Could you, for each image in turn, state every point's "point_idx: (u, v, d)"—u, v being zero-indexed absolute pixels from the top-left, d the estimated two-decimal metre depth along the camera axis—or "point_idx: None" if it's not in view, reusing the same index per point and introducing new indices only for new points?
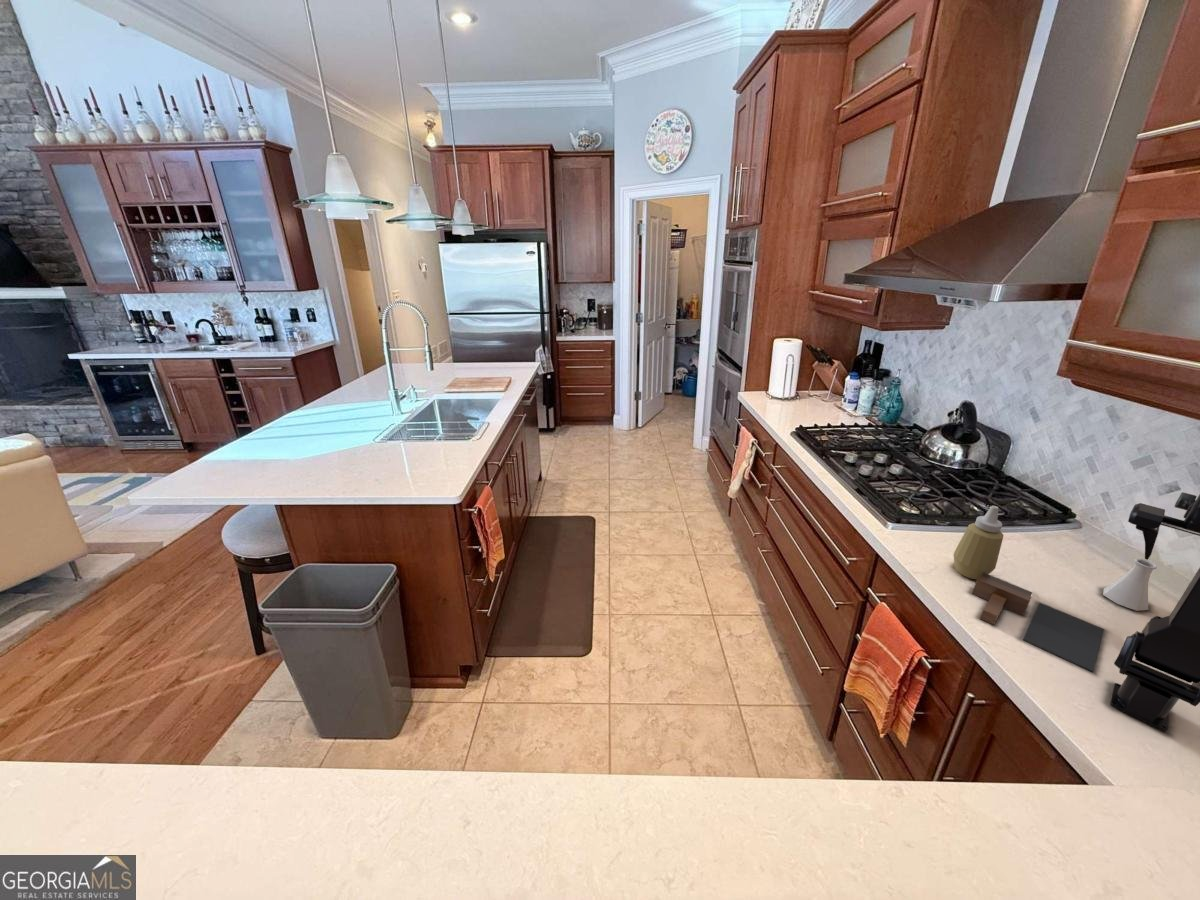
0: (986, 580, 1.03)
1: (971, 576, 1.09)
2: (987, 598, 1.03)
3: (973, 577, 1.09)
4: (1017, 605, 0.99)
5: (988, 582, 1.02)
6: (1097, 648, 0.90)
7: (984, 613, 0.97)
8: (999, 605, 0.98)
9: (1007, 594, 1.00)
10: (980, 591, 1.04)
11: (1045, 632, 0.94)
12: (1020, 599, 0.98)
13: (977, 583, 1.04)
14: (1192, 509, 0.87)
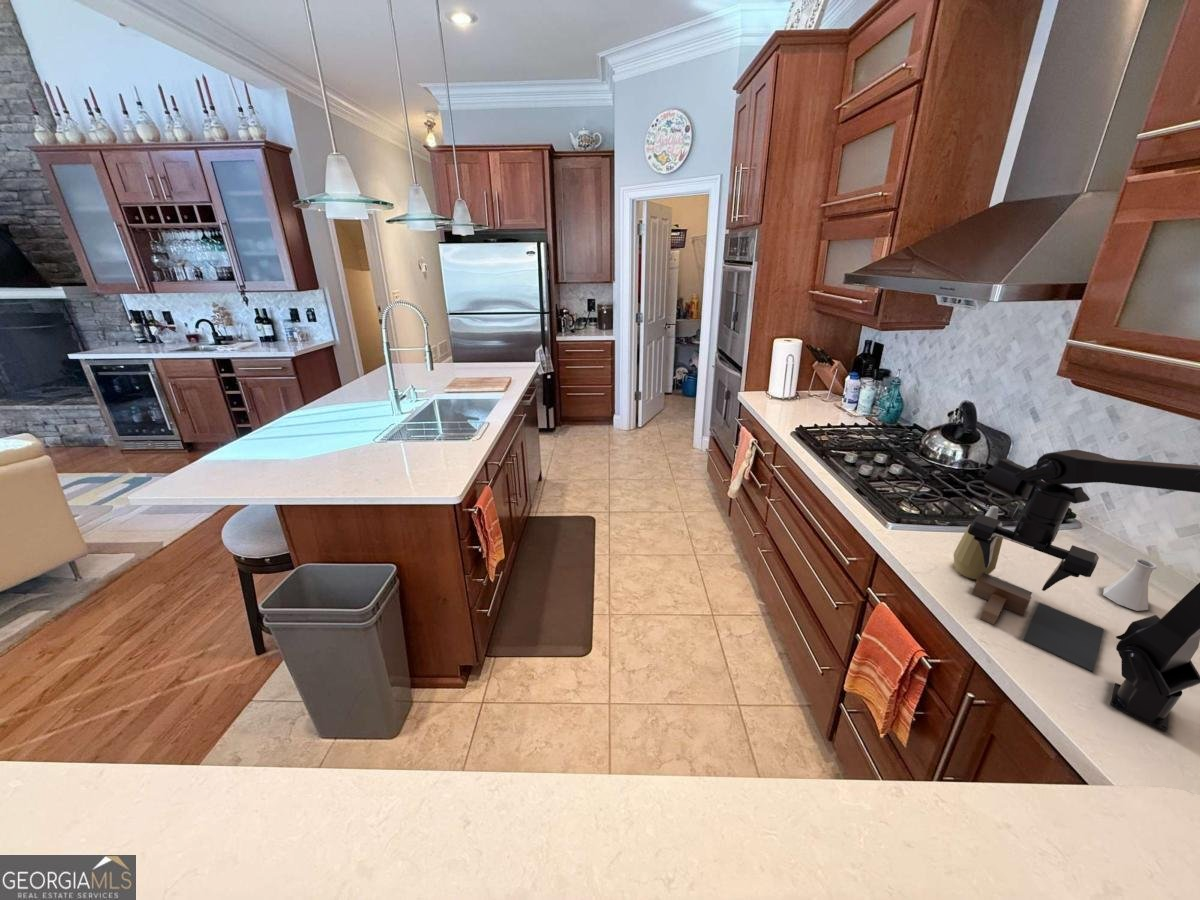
0: (986, 580, 1.03)
1: (971, 576, 1.09)
2: (987, 598, 1.03)
3: (973, 577, 1.09)
4: (1017, 605, 0.99)
5: (988, 582, 1.02)
6: (1097, 648, 0.90)
7: (984, 613, 0.97)
8: (999, 605, 0.98)
9: (1007, 594, 1.00)
10: (980, 591, 1.04)
11: (1045, 632, 0.94)
12: (1020, 599, 0.98)
13: (977, 583, 1.04)
14: (1018, 521, 0.92)
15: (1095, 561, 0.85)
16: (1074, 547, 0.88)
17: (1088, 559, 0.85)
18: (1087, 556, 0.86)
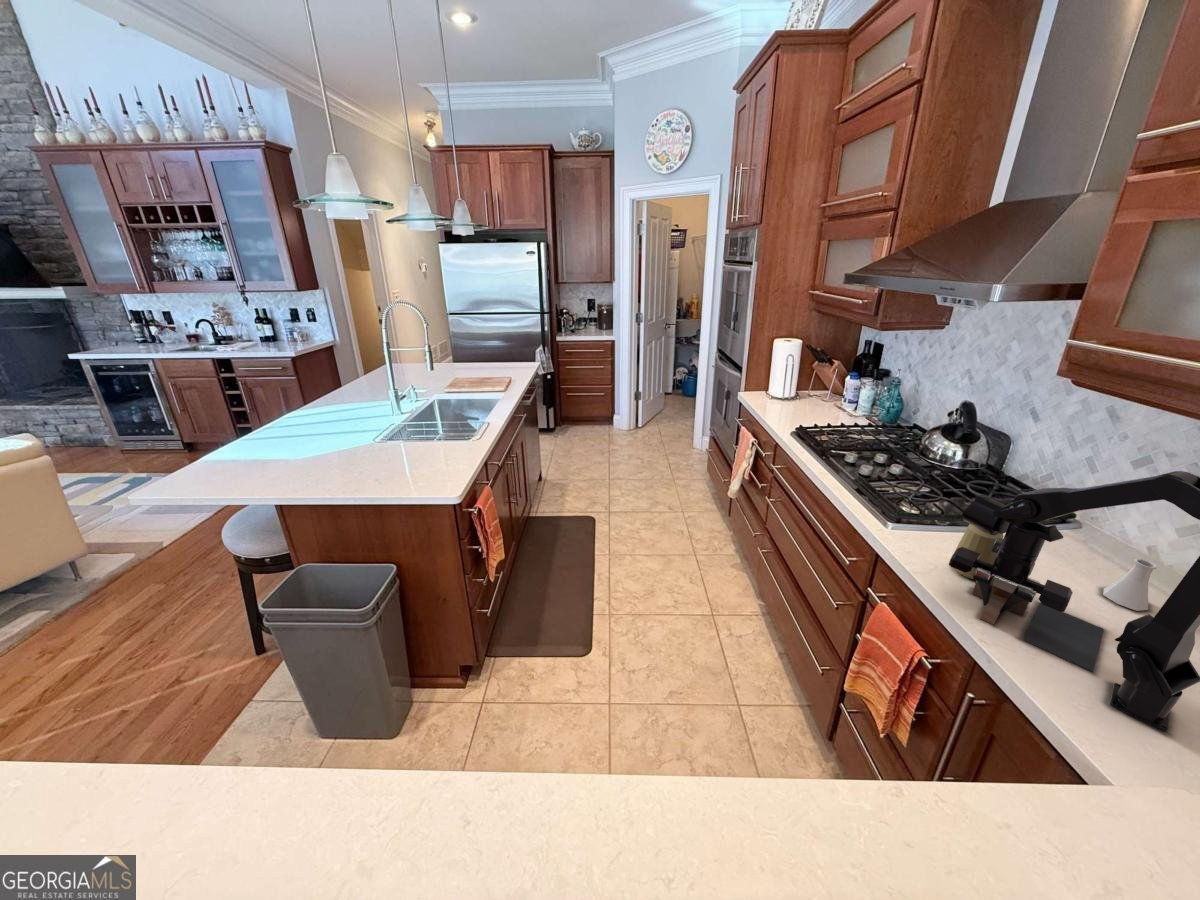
0: None
1: (971, 576, 1.09)
2: None
3: None
4: (1017, 605, 0.99)
5: None
6: (1097, 648, 0.90)
7: (984, 613, 0.97)
8: (999, 605, 0.98)
9: (1007, 594, 1.00)
10: (980, 591, 1.04)
11: (1045, 632, 0.94)
12: None
13: (977, 583, 1.04)
14: (996, 556, 0.96)
15: (1069, 596, 0.88)
16: (1049, 581, 0.92)
17: (1062, 594, 0.89)
18: (1061, 591, 0.89)
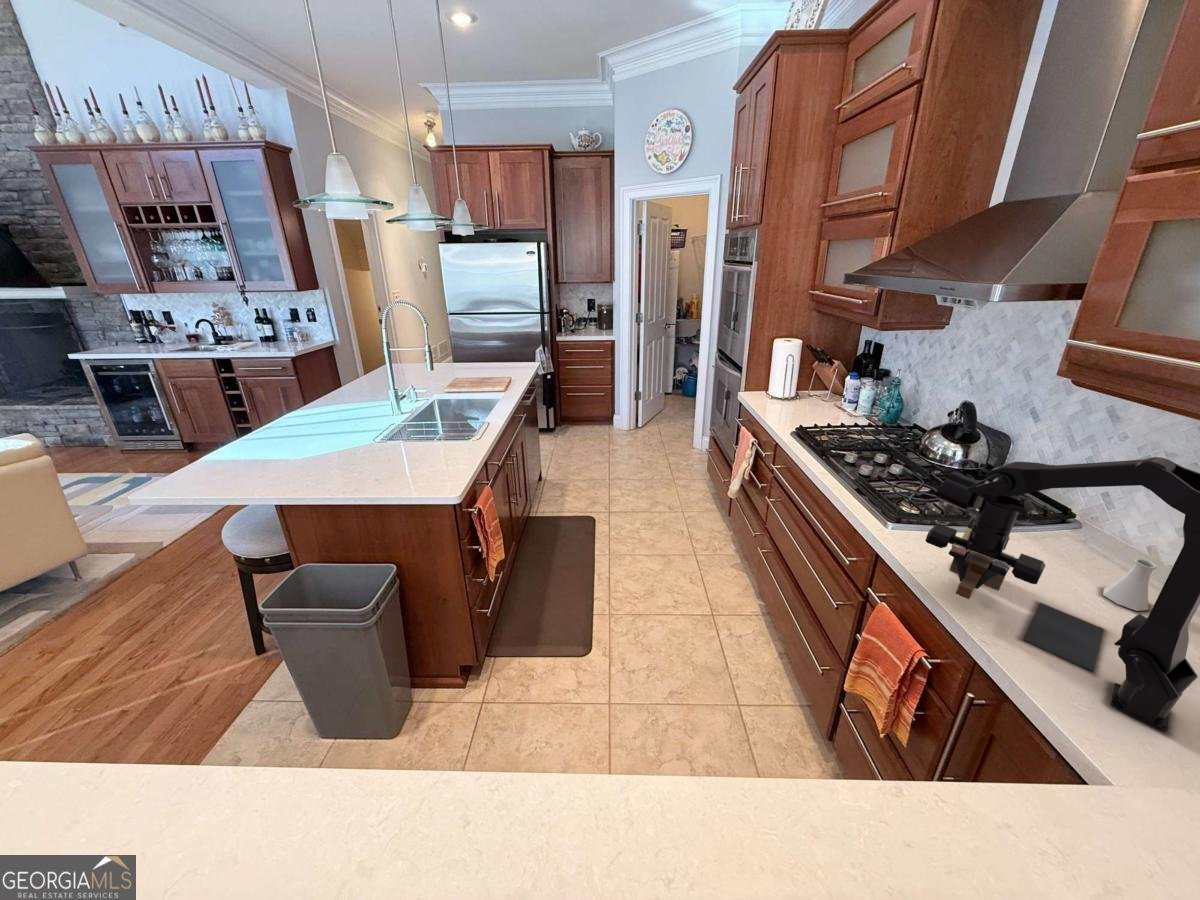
0: None
1: None
2: None
3: None
4: (993, 580, 1.00)
5: None
6: (1097, 648, 0.90)
7: (959, 588, 0.98)
8: (974, 580, 0.99)
9: (983, 570, 1.01)
10: None
11: (1045, 632, 0.94)
12: None
13: (954, 560, 1.04)
14: (971, 531, 0.96)
15: (1041, 569, 0.89)
16: (1023, 555, 0.93)
17: (1034, 567, 0.89)
18: (1034, 564, 0.90)
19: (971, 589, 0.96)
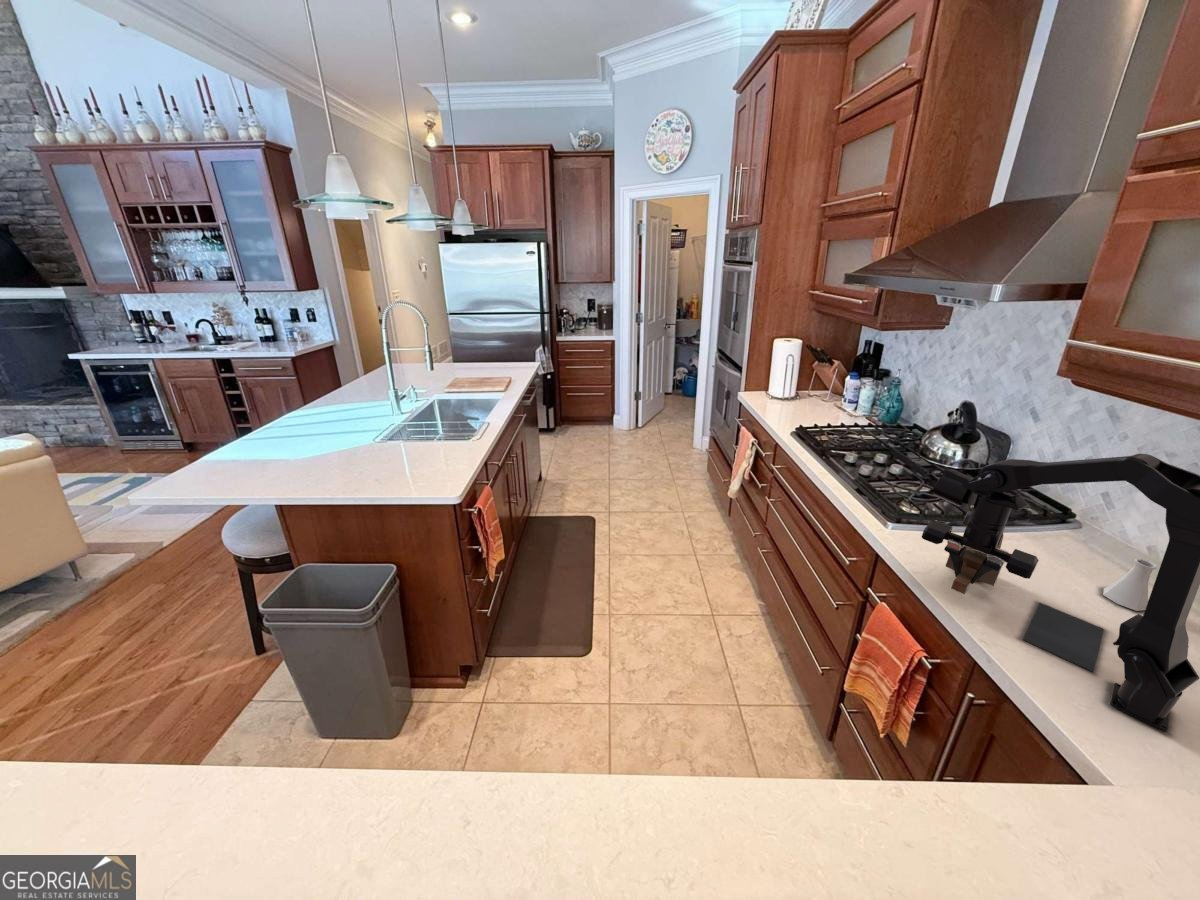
0: None
1: None
2: None
3: None
4: (988, 576, 1.02)
5: None
6: (1097, 648, 0.90)
7: (955, 583, 1.00)
8: (970, 575, 1.01)
9: (978, 565, 1.03)
10: None
11: (1045, 632, 0.94)
12: None
13: None
14: (966, 527, 0.99)
15: (1034, 563, 0.91)
16: (1016, 550, 0.95)
17: (1027, 561, 0.91)
18: (1027, 559, 0.92)
19: (966, 584, 0.99)
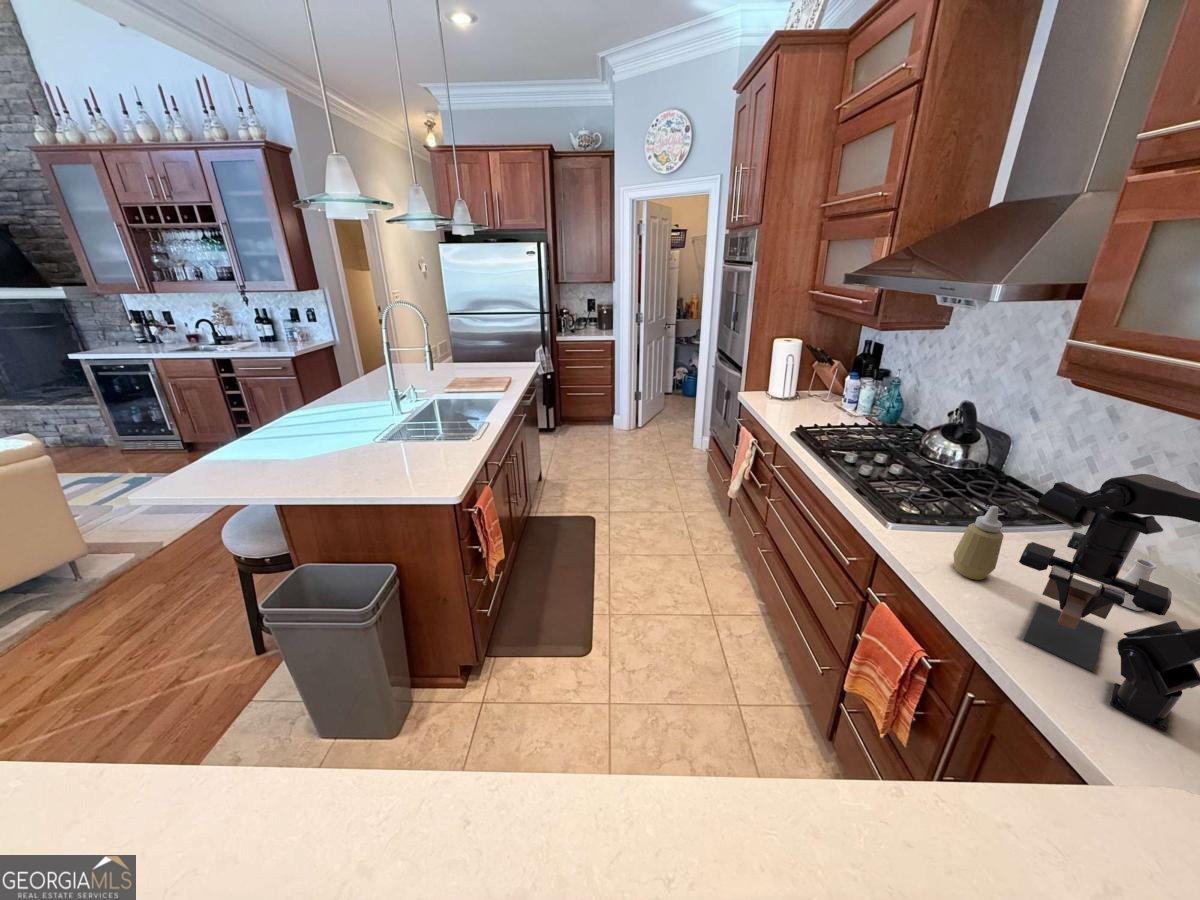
0: None
1: (971, 576, 1.09)
2: None
3: (973, 577, 1.09)
4: None
5: None
6: (1097, 648, 0.90)
7: (1063, 617, 0.85)
8: (1079, 607, 0.86)
9: (1086, 595, 0.88)
10: (1052, 592, 0.92)
11: (1045, 632, 0.94)
12: None
13: (1049, 583, 0.92)
14: (1077, 551, 0.84)
15: (1169, 597, 0.77)
16: (1142, 581, 0.80)
17: (1161, 595, 0.77)
18: (1159, 592, 0.78)
19: (1078, 618, 0.84)
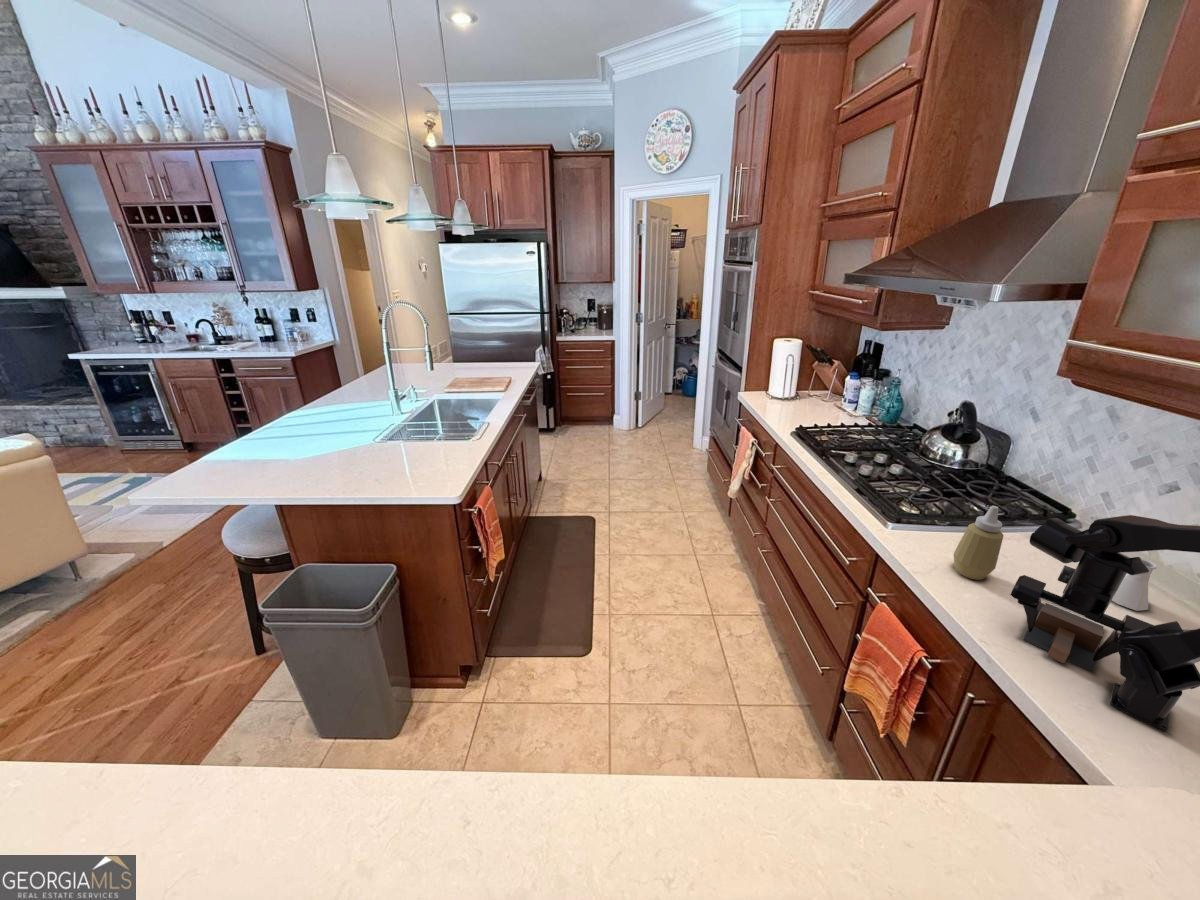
0: (1051, 611, 0.94)
1: (971, 576, 1.09)
2: (1052, 632, 0.94)
3: (973, 577, 1.09)
4: (1088, 641, 0.90)
5: (1053, 614, 0.93)
6: (1097, 648, 0.90)
7: (1052, 650, 0.88)
8: (1068, 641, 0.89)
9: (1076, 628, 0.91)
10: (1043, 624, 0.94)
11: (1045, 632, 0.94)
12: (1092, 635, 0.89)
13: (1040, 615, 0.94)
14: (1067, 587, 0.86)
15: None
16: (1129, 617, 0.83)
17: None
18: None
19: (1067, 653, 0.86)
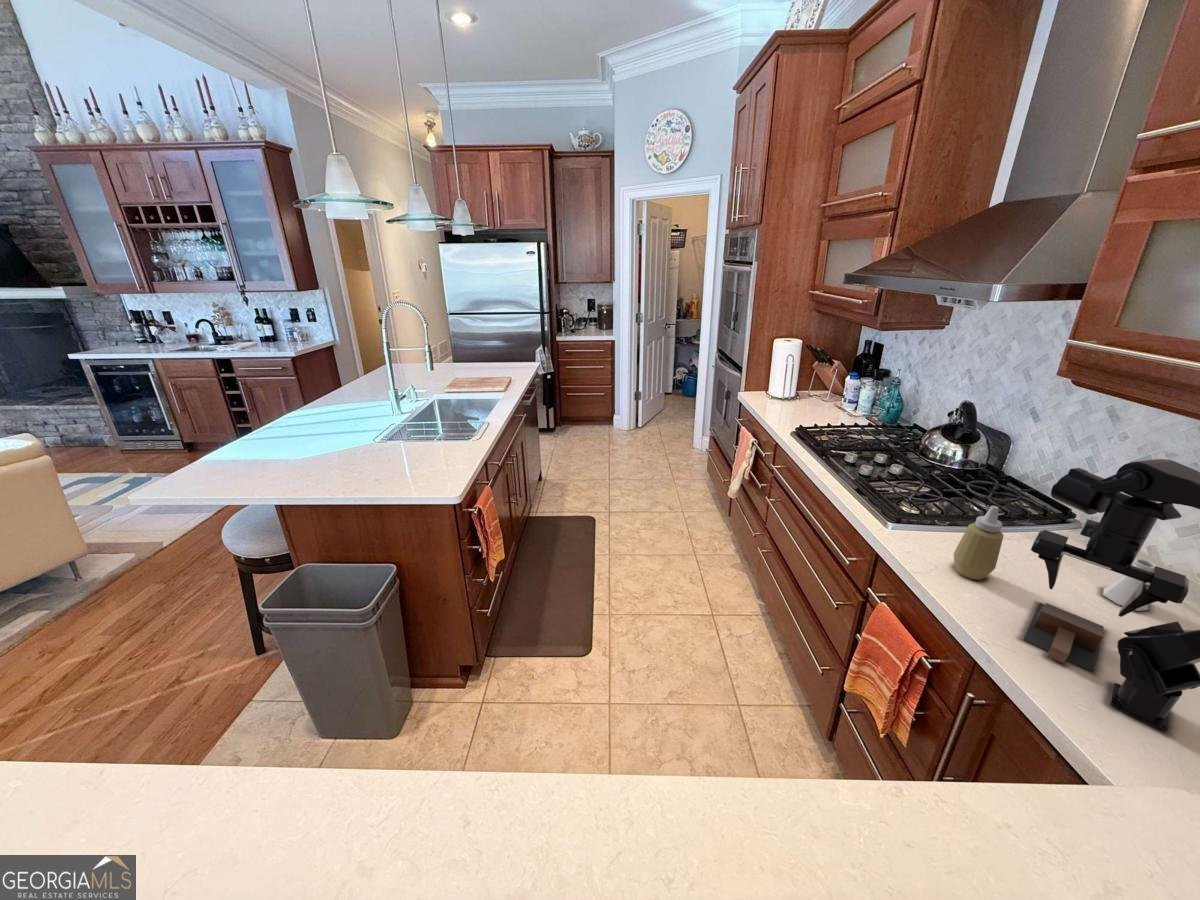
0: (1051, 611, 0.94)
1: (971, 576, 1.09)
2: (1052, 632, 0.94)
3: (973, 577, 1.09)
4: (1088, 641, 0.90)
5: (1053, 614, 0.93)
6: (1097, 648, 0.90)
7: (1052, 650, 0.88)
8: (1068, 641, 0.89)
9: (1076, 628, 0.91)
10: (1043, 624, 0.94)
11: (1045, 632, 0.94)
12: (1092, 635, 0.89)
13: (1040, 615, 0.94)
14: (1091, 539, 0.82)
15: (1186, 585, 0.75)
16: (1158, 568, 0.78)
17: (1178, 583, 0.75)
18: (1176, 579, 0.76)
19: (1067, 653, 0.86)
